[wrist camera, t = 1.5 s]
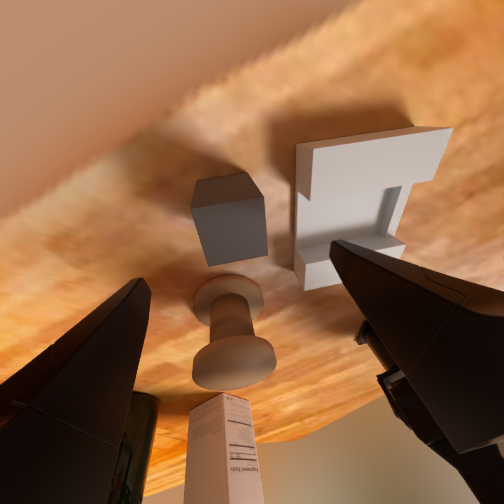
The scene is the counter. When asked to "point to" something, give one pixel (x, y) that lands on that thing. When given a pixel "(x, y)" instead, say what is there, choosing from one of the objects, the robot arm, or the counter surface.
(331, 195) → the notched board
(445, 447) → the robot arm
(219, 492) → the supplement box
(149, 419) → the wine bottle
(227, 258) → the block
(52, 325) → the counter surface
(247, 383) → the bobbin
